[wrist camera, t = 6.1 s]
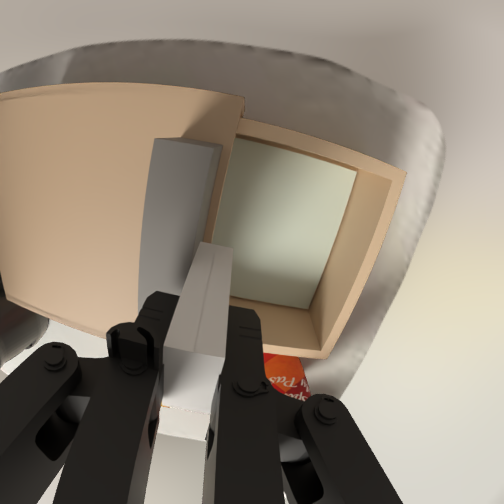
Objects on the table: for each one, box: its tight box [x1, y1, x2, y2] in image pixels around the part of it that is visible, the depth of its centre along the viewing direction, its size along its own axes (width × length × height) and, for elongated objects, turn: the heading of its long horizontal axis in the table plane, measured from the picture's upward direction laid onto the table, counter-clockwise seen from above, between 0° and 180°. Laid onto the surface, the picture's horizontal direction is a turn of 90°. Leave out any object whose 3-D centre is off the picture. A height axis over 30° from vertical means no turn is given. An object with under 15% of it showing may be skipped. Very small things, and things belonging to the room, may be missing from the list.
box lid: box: [0, 82, 245, 339], centre depth 14 cm, size 16×16×10 cm
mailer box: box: [212, 117, 407, 359], centre depth 18 cm, size 16×14×6 cm
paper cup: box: [263, 352, 311, 498], centre depth 21 cm, size 8×8×14 cm
